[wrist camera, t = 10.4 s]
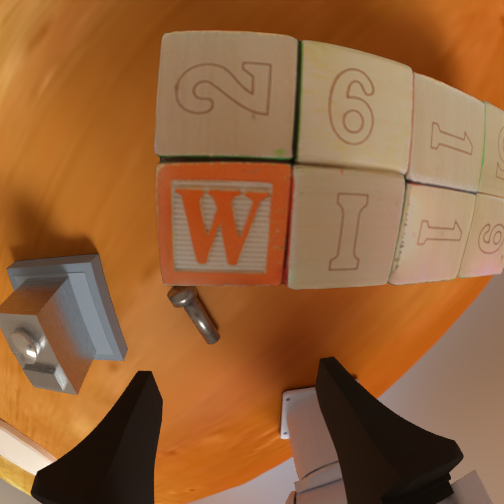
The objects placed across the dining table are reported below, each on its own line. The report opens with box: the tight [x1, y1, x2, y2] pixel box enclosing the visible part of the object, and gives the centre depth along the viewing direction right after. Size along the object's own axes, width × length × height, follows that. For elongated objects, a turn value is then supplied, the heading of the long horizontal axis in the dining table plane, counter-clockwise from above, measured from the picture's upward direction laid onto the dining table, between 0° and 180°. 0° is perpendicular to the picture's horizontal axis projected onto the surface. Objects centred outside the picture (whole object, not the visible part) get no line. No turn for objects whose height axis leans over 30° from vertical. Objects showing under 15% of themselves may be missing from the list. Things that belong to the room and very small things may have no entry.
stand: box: [7, 254, 128, 361], centre depth 20 cm, size 9×9×2 cm
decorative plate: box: [0, 419, 57, 476], centre depth 31 cm, size 25×4×25 cm
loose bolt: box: [167, 286, 220, 344], centre depth 20 cm, size 5×2×2 cm, turn 22°
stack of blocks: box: [154, 30, 504, 290], centre depth 12 cm, size 21×6×12 cm, turn 87°
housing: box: [0, 277, 97, 395], centre depth 16 cm, size 7×4×6 cm, turn 2°
